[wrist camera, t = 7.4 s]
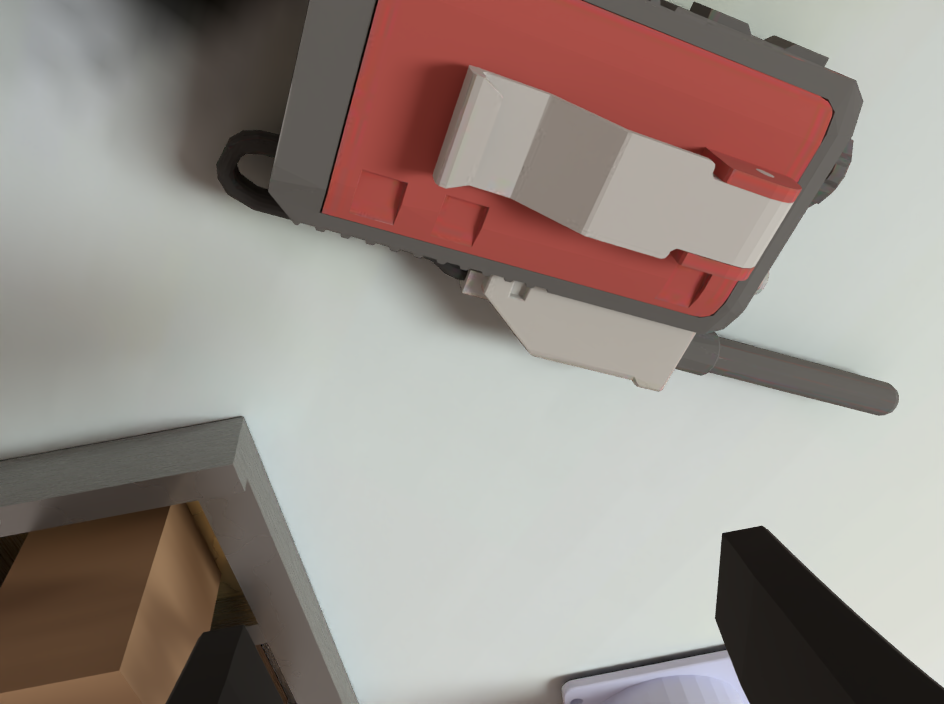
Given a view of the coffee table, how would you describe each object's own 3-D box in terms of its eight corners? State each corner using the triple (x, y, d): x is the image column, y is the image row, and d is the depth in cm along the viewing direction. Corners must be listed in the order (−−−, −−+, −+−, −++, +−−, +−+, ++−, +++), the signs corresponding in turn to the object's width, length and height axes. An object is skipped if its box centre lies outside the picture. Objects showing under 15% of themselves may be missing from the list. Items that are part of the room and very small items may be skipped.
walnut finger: (227, 585, 24) (191, 773, 19) (105, 608, 24) (36, 803, 19) (177, 484, 21) (119, 671, 16) (40, 509, 21) (-60, 705, 16)
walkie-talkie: (209, 240, 18) (846, 403, 24) (169, 334, 14) (935, 500, 20) (285, -170, 14) (1039, 148, 19) (257, -186, 10) (1197, 211, 16)
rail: (360, 708, 29) (359, 882, 24) (134, 752, 29) (85, 937, 24) (243, 416, 20) (204, 590, 16) (-77, 475, 20) (-222, 670, 15)
